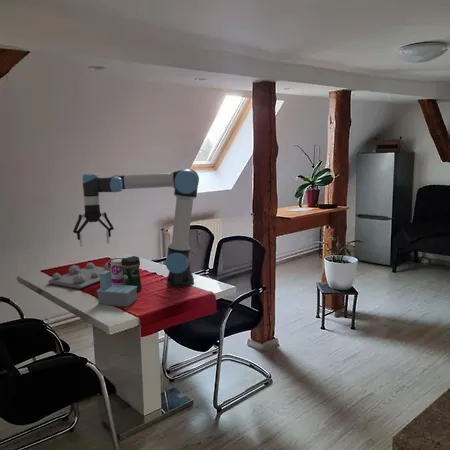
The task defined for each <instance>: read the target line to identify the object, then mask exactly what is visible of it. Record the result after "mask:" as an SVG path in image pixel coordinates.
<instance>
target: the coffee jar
mask: <svg viewBox="0 0 450 450" xmlns="http://www.w3.org/2000/svg"><path fill="white" fill-rule="evenodd" d="M139 257H140V256H135V255H132V256H128V257H125V258H124V257H123V258H121V259H122V260H121V266H122V268H123V285H126V286H130V285H132V286H137V292H139V291H141V290H142V289H143V288H142V280H141V275H140V265H141V261H140V258H139Z"/></svg>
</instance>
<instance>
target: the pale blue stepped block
mask: <svg viewBox="0 0 450 450" xmlns="http://www.w3.org/2000/svg"><path fill="white" fill-rule="evenodd" d="M99 285H100V287H99V288H98V289H97V290H96V293H98V292H101V293H114V294H127V295H128V294H129V293H131V292H132V291H134V290H135V289H136V288H137V286H132V285H130V286H126V285H112V278H111V271H108V270H105V271H103V272H102V273H100V282H99Z"/></svg>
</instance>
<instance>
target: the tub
mask: <svg viewBox="0 0 450 450" xmlns="http://www.w3.org/2000/svg"><path fill="white" fill-rule="evenodd" d="M137 301H138V291H137V288H136V289H135V290H134V291H132V292H131V293H129V294H128V295H127V294H114V293H101V292H97V304H98V305H101V306H102V305H105V306H117V307H126V306H127V307H128V306H129V307H131V305H133V304H134V303H135V302H137ZM133 302H134V303H133Z"/></svg>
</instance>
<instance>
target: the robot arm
mask: <svg viewBox="0 0 450 450" xmlns="http://www.w3.org/2000/svg"><path fill="white" fill-rule="evenodd" d="M199 182H200V177H199V174H198V173H197V172H196V170H194V169H193V168H192V169H191V168H184V169H179V170H178V169H177V170H172V172H164V173H163V172H159V173H143V174H142V173H141V174H126V175H125V174H123V175H120V174H119V175H117V174H116V175H112V176H109V177H99V175H98V174H97V173H85V174H83V175H82V191H83V203H84V214H81V213H79V214H78V219H77V221H76V224H75V225H74V228H73V231H72V232H73V234H76V237H77V240H78V241H79V245H80V247H83V240H82V239H83V238H82V231H83V230H84V229H85V227H86V226H87V224H88V223H97V222H99V223H100V224H101V225H102V226H103V227H104V228H105V229H106V231H105V233H106V234H105V235H106V243H107V244H108V245H109V244H110V238H111V237H112V236H111V231H113V230H114V229H115V227H114V226H113V224H112V223H111V221H110V219H109V218H108V213H107V212H106V211H104V212H101V207H100V206H101V205H100V193H120V192H122V191H123V190H136V189H138V190H139V189H156V188H172V189H174V193H173V195H174V197H175V198H176V200H175V211H174V219H173V227H172V235H171V236H172V237H171V243H169V244H168V247H167V254H166V259H165V266H166V269H167V270H168V274H167V278H166V285H167V286H170V287H174V288H182V287H183V288H184V287H185V288H186V287H189V286H192V285H194V283H195V278H194V276H193V273H192V270H191V245H190V243H189V237H190V229H191V221H192V214H193V204H194V199H196V198H197V197H198V195H197V194H198V188H199V187H198V186H199ZM101 217H103V218H104V219H105V221H106V223H107V224H108V225H107V224H105V222H103V221H102V220H101ZM84 218H85V220H84V222H83V223H82V224H81V226H80V223H81V221H82V219H84ZM108 226H109V227H108Z"/></svg>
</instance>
